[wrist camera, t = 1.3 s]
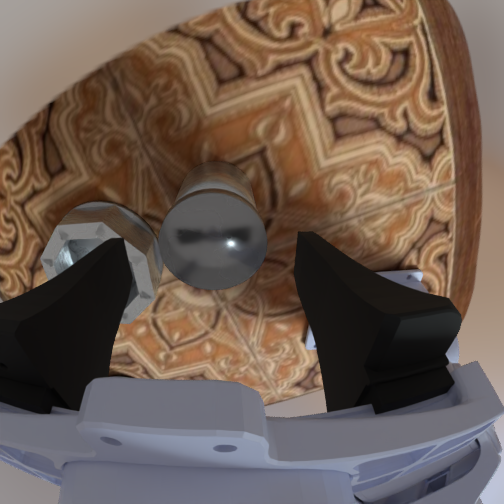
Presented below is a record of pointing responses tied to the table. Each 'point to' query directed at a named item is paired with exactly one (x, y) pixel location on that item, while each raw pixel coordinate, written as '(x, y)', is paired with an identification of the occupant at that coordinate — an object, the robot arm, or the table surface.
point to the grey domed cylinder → (213, 229)
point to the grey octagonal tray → (98, 231)
